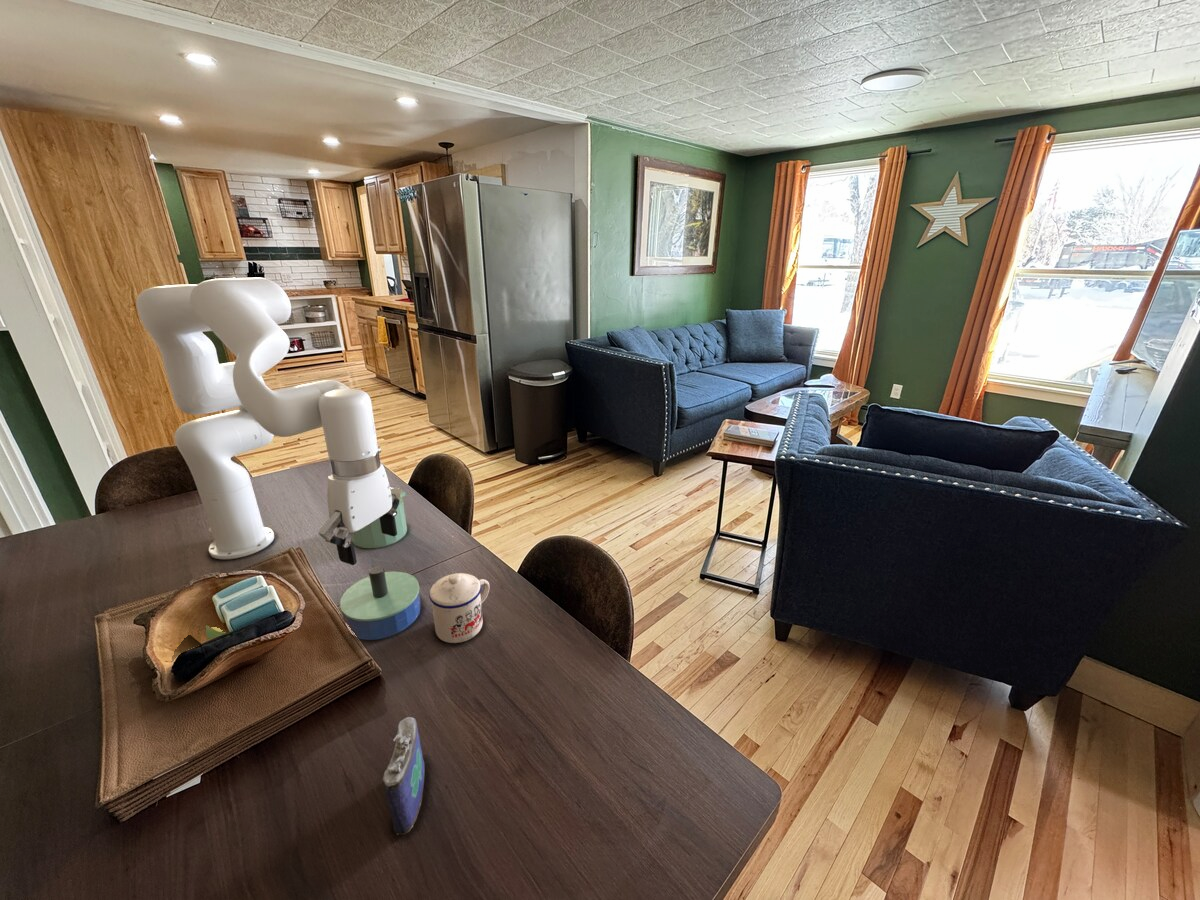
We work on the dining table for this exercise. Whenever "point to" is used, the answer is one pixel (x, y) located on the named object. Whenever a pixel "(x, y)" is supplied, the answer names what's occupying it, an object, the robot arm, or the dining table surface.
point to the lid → (379, 595)
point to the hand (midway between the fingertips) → (370, 547)
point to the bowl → (385, 623)
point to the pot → (373, 533)
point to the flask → (405, 777)
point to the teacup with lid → (458, 606)
